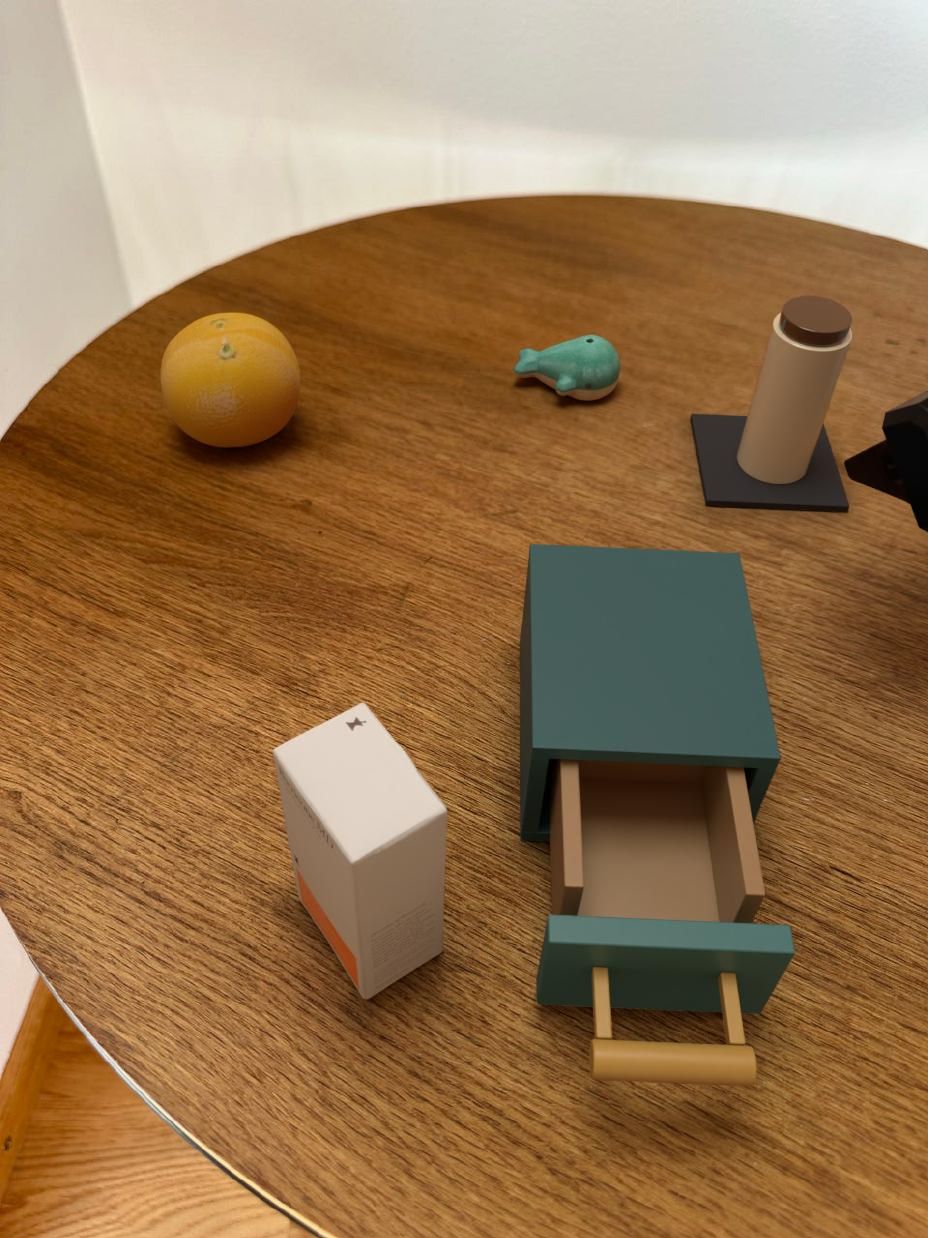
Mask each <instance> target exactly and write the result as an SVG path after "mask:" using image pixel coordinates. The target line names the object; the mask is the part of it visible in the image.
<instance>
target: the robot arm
mask: <svg viewBox="0 0 928 1238" xmlns="http://www.w3.org/2000/svg"><path fill="white" fill-rule="evenodd" d="M881 429H882V432H883V435H884V437H885V439H883V440H882V441H879V442H877V443H876V444H874V445H872V446H870V447H868V448H866V449H864V450H861V451H860V452H858V453H856V454H854V455H852V456H851V457H849V458H846V459H845V460H844V462H843V466H844V469H845V471H846V473H847V477H848V478H849V480H850V481H853V482H856V483H858V484H861V485H864V486H865V487H868V488H870V489H874V490H876V491H879V492H881V493H884V494H886V495H887V496H891V497H893V498H896V499H898V500H900V501H902V502H905V503H907V504H908V505H910V507H911V510H912V513H913V516H914V518H915V521H916V524H917V526H918V529H921V530H922V531H924V532H926V533H928V390H926V391H924V392H922V393H920V394H918V395H915V396H914V397H912V398H909V399H908V400H906V401H904V402H902V403H900V404H898V405H897V406H894V407H893V408H891V409H889V410H887V411H886V412H885V413H884V417H883V421H882V426H881Z"/></svg>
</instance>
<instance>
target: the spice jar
mask: <svg viewBox="0 0 928 1238" xmlns="http://www.w3.org/2000/svg"><path fill="white" fill-rule="evenodd" d="M852 323H853V315H852V313H851V312H850V310H849V309H848V308H847V307H845V306H844V305H843V304H842V303H840V302H838V301H836V300H834V299H831V298H828V297H824V296H820V295H814V294H813V295H810V294H809V295H808V294H807V295H806V294H805V295H798V296H795V297H792V298H790V299H788V300H786V302H784V304H783V305H782V308H781V312H780V313H778V314H777V315H775V317H774V319H773V321H772V325H771V327H770V332H769V335H768V339H767V343H766V346H765V350H764V354H763V357H762V361H761V365H760V368H759V372H758V375H757V379H756V383H755V386H754V390H753V394H752V399H751V401H750V404H749V408H748V412H747V415H746V416H747V419H746V423H745V426H744V430H743V433H742V437H741V441H740V444H739V448H738V452H737V461H738V463H739V465H740V467H741V468H742V469H743V470H744V471H745V472H746V473H747V474H748V475H750V476H752V477H753V478H755V479H757V480H760V481H763V482H766V483H771V484H788V483H792V482H795V481H798V480H799V479H801V478H802V477H803V476H804V475H805V474H806V472H807V469H808V467H809V464H810V461H811V458H812V455H813V452H814V449H815V446H816V443H817V440H818V437H819V434H820V431H821V428H822V425H823V423H824V422H825V420H826V416H827V413H828V410H829V408H830V405H831V402H832V399H833V395H834V394H835V390H836V387H837V384H838V381H839V378H840V376H841V372H842V369H843V366H844V363H845V361H846V358H847V355H848V352H849V349H850V345H851V343H852V339H853V331H852V328H851V327H852Z"/></svg>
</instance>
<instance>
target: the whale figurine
mask: <svg viewBox="0 0 928 1238" xmlns="http://www.w3.org/2000/svg"><path fill="white" fill-rule="evenodd" d="M619 356H620V355H619V353H618V352H617V349H616V348H615V346H614V345H613V344H612V343H611V342H610V341H608V340H607V339H605V338H604V337H603V336H602V337H601V336H599V335H597V334H585V335H582V336H579V337H577V338H573V339H570V340H566V341H564V342H560V343H557V344H554V345H552V346H549V347H547V348H544V349H543V350H540V351H538V350H535V349H532V348H523V349H521V350H519V353H518V362H517V364H515V366H514V367H513V374H514V376H516V377H518V378H522V379H527V378H536V379H537V380H539V381H540V382H542V383H544V384H545V385H547V386H548V387H550V388H552V389H554V390H555V393H556V394H557V395H559V396H561V397H566V396H569V397H570V398H573V399H576V400H579V401H586V402H587V401H589V402H590V401H596V400H599V399H602V398H605V397H606V396H608V395H609V394H611V393H612V392H613V391H614V390H615V388H616V387H617V385H618V382H619V379H620V373H621V372H620V371H621V361H620V357H619Z"/></svg>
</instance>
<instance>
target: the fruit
mask: <svg viewBox="0 0 928 1238" xmlns="http://www.w3.org/2000/svg"><path fill="white" fill-rule="evenodd" d="M301 377H302V376H301V370H300V365H299V361H298V359H297V356H296V353H295V351H294V349H293V347H292V346H291V343H290V342H289V341H288V339H287V338H286V336H285V335H284V334H283V333H282V332H281V331H280V330H279V329H278V328H277V327H276V326H275V325H273V324H272V323H270V322H268V321H267V320H266V319H263V318H261V317H259V316H256V315H253V314H249V313H244V312H219V313H214V314H209V315H206V316H203V317H201V318H199V319H196V320H194V321H193V322H191V323H189V324H188V325H186V326H185V327H184V328H183V329H181V330H180V331H179V332H178V333H176V335H175V336H174V337H173V338H172V339H171V340H170V342H169V343H168V345H167V346H166V348H165V350H164V353H163V356H162V360H161V365H160V388H161V393H162V397H163V401H164V404H165V407H166V409H167V411H168V413H169V415H170V417H171V419H172V420H173V422H174V423H175V424H176V425H177V427H178V428H179V429H181V431H182V432H184V433H185V434H186V435H188V436H189V437H190V438H191V439H194V440H195V441H198V442H200V443H202V444H205V445H207V446H211V447H216V448H241V447H248V446H253V445H256V444H259V443H261V442H264V441H266V440H268V439H270V438H272V437H273V436H275V435H276V434H278V433H280V431H281V430H283V428H284V427H285V426H287V424H288V423H289V422H290V420H291V419H292V417H293V415H294V413H295V410H296V408H297V406H298V402H299V400H300V399H299V398H300V393H301Z"/></svg>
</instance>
